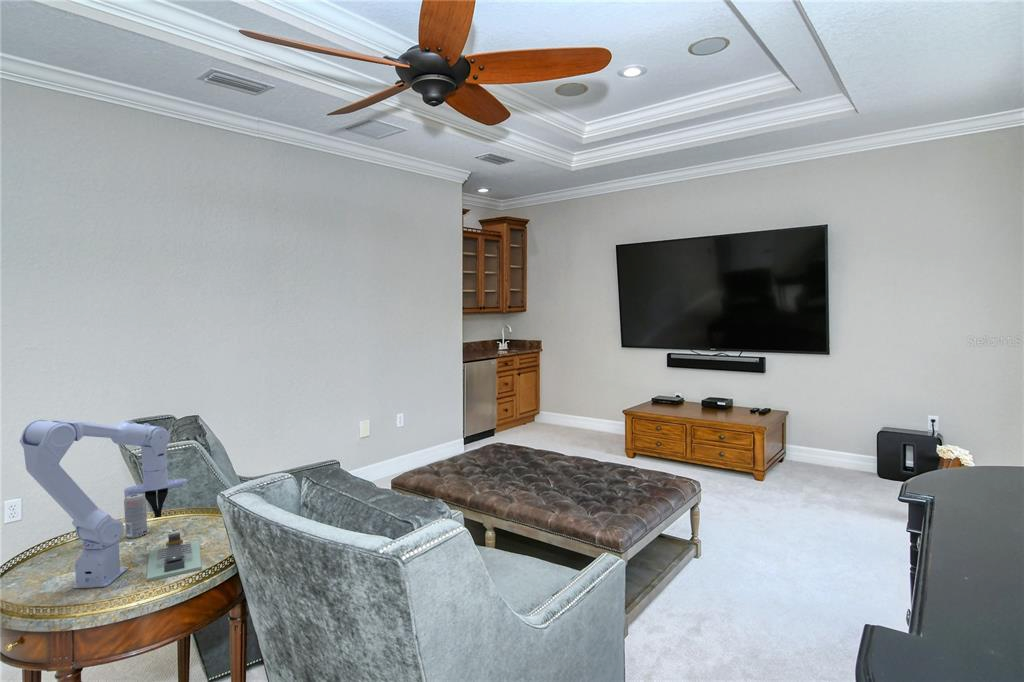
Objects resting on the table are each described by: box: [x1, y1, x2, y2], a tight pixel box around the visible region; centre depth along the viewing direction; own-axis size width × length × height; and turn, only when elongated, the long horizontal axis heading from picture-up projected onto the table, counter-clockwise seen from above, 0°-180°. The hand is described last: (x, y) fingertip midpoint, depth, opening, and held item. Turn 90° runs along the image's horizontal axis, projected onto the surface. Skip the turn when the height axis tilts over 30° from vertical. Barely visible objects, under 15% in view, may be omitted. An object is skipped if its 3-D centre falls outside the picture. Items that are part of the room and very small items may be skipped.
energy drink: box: [123, 493, 148, 539], centre depth 166 cm, size 5×5×12 cm
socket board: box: [146, 532, 202, 582], centre depth 149 cm, size 18×12×5 cm, turn 31°
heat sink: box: [156, 542, 192, 568], centre depth 149 cm, size 8×8×2 cm
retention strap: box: [165, 538, 184, 563], centre depth 149 cm, size 13×4×1 cm, turn 31°
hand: (158, 516), depth 154 cm, fingers closed
